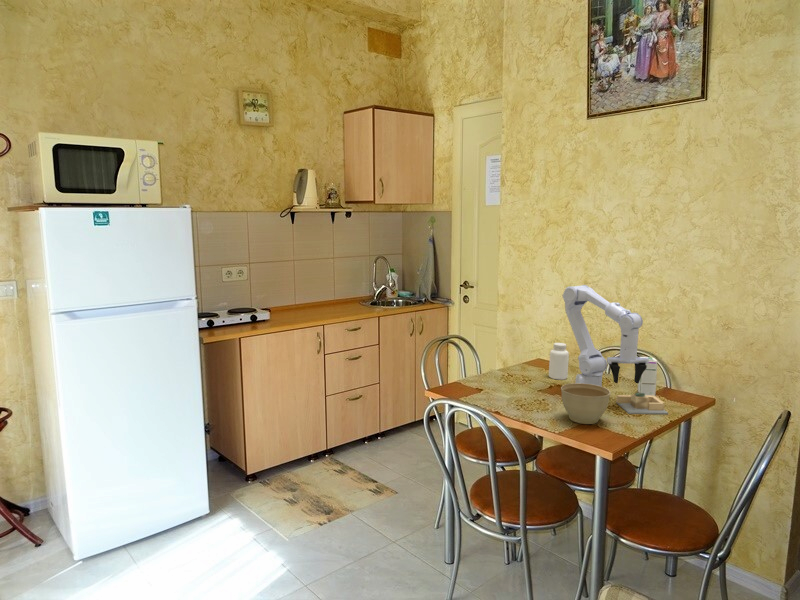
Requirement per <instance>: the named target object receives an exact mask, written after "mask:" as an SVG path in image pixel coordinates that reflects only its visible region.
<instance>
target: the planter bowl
mask: <svg viewBox="0 0 800 600" xmlns="http://www.w3.org/2000/svg"><path fill="white" fill-rule="evenodd" d="M560 391H561V401H562V405H563V408H564V410H565V411H566V412H567V414H568V417H569V420H571V421H572V422H575V423H578V424H583V425H593V424H597V423H598V422H599V419H600V418H601V417H602V416H603V415H604V414H605V412H606V410H607V409H608V405H609V403H610V397H611V391H610V389H608V388H607V387H603V386H602V387H601V386H598V385H592V384H583V383H576V382H574V383H573V382H572V383H566V384H564V385H562V386H561V387H560Z"/></svg>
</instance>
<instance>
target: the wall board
mask: <svg viewBox="0 0 800 600" xmlns="http://www.w3.org/2000/svg"><path fill="white" fill-rule="evenodd" d="M645 396H647V397H648V398H649V401H648V409H635V408H634V407H633V406H632V405H631V394H616V404H617V405H618V406H619V407H620V408H622V409H623V410H624V411H625V412H626V413H627V414H628V415H669V412H668V411H667V410H666V409H665V402H664V401H663V400H661V399H660V398H659V397H657V396H656V395H655V396H654V395H645Z"/></svg>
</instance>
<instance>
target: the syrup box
mask: <svg viewBox="0 0 800 600" xmlns="http://www.w3.org/2000/svg"><path fill="white" fill-rule="evenodd" d="M640 357H641V358H648V359H649V364H645V365H647V368H646V369H645V371H644V372H643V374H642V376H641V378H640V380H639V383H637V393H644V394H645V395H654V396H656V391H657V390H656V389H657V388H656V387H657V371H658V360H657V359H656V358H655V357H654V356H653V357H652V356H640Z"/></svg>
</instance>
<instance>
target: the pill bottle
mask: <svg viewBox="0 0 800 600" xmlns="http://www.w3.org/2000/svg"><path fill="white" fill-rule="evenodd" d="M569 355H570V353H569V351H568V350H567V344H566V343H563V342H554V343H553V347H552V349H551V350H550V352H549V361H548V362H549V364H548V365H549V366H548V377H549V378H551V379H553V380H562V381H563V380H566V379H568V373H569V372H568V371H569V359H570V356H569Z"/></svg>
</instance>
